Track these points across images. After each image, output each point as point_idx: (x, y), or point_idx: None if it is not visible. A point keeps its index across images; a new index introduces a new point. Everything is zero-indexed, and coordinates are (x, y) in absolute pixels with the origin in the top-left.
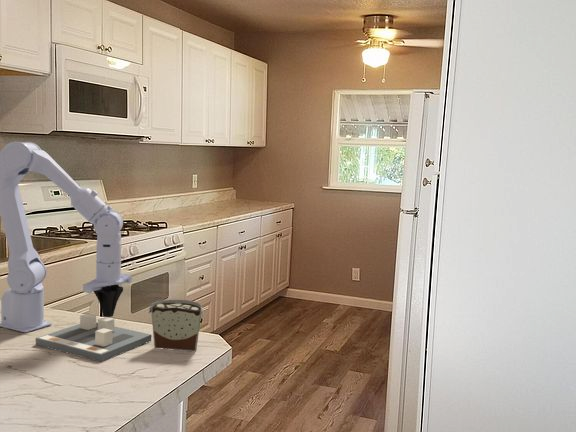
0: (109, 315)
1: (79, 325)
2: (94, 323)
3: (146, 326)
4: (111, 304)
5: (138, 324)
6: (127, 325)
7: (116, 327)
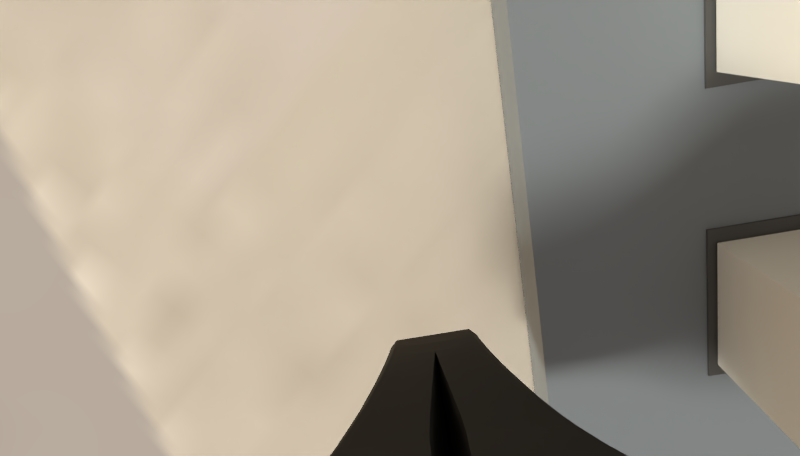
0: (477, 339)
1: (756, 437)
2: (785, 258)
3: (39, 22)
4: (503, 421)
5: (78, 167)
6: (209, 228)
7: (537, 60)
